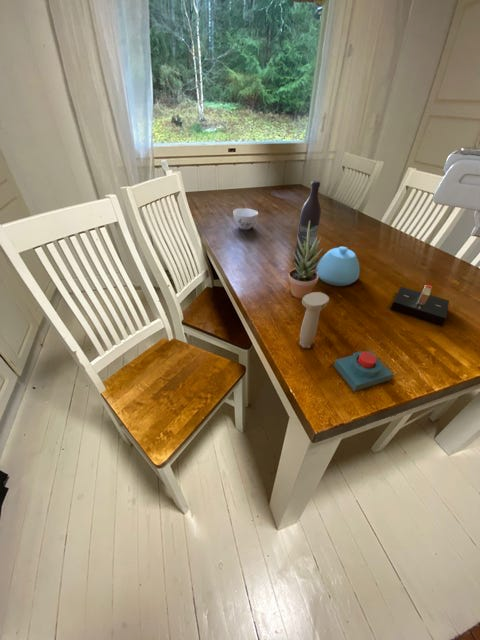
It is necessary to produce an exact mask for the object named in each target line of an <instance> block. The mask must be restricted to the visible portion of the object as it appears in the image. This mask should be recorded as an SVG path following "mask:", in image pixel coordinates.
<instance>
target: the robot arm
mask: <svg viewBox="0 0 480 640" xmlns="http://www.w3.org/2000/svg"><path fill="white" fill-rule="evenodd" d="M442 170H443V172H442V173H443V174H444V175H443V177H442V179H441V180H440V182H439V184H438V185H437V187H436V189H435V191H434V194H433V196H432V201H433V203H434V204H435V205H440V206H446V207H452V208H458V209H459V208H460V209H465V210H471V211H474V214H473V220H474V227H473V229H472V231H471V233H470V236H471V237H475V238H480V147H471V146H463V147H462V148H460V149H459V148H458V149H456V150H454V151H452V152H451V153H449V155H448V157H447V158H446V160H445V163H444V165H443V169H442Z"/></svg>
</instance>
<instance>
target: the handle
mask: <svg viewBox="0 0 480 640" xmlns="http://www.w3.org/2000/svg"><path fill="white" fill-rule="evenodd" d="M329 301H330V297H329V296H328V295H327V294H326V293H323V292H321V291H317V292H316V291H314V292H311V293H309V294H307V295H305V296H304V297H303V298H301V304H302V306H303V307H304V308H306V309H305V312H304V316H303V320H302V323H301V327H300V332H299V346H300V347H302V349H310V348H311V347H312V344H313V343H314V340H315V339H316V335H317V331H318V328H319V327H318V326H319V319H320V315H321V311H322V310H323V309H325V308H326V307H327V305H328V303H329Z"/></svg>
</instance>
